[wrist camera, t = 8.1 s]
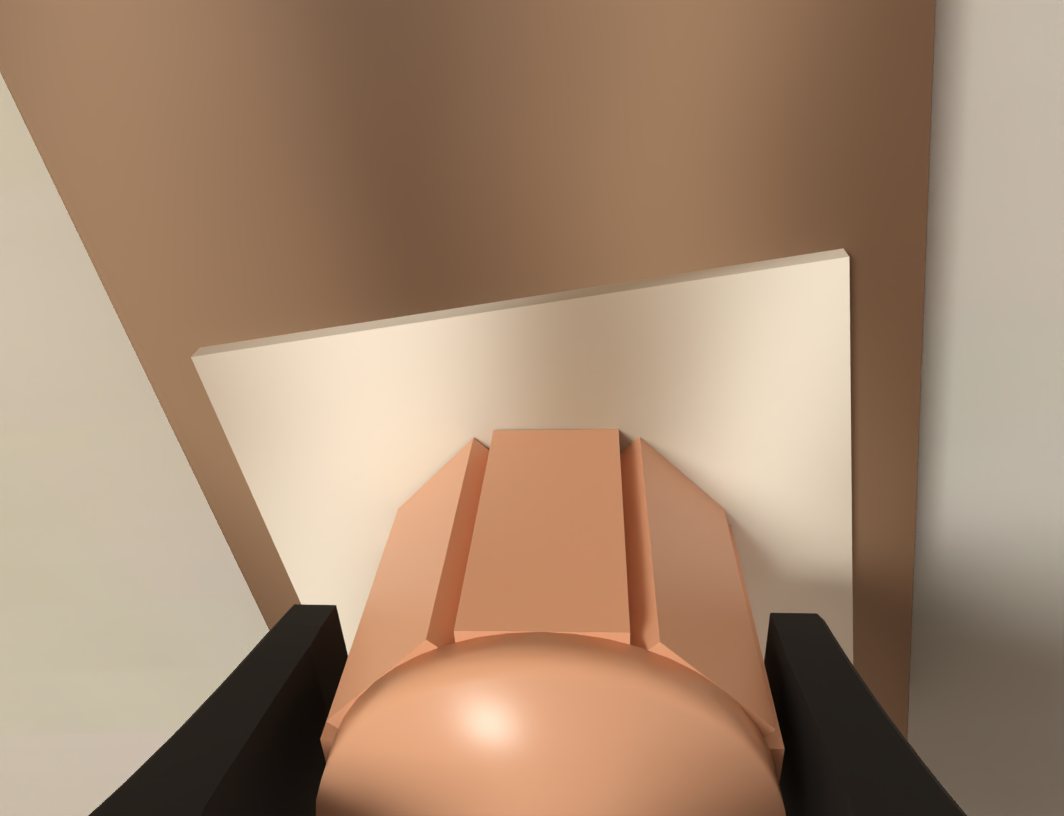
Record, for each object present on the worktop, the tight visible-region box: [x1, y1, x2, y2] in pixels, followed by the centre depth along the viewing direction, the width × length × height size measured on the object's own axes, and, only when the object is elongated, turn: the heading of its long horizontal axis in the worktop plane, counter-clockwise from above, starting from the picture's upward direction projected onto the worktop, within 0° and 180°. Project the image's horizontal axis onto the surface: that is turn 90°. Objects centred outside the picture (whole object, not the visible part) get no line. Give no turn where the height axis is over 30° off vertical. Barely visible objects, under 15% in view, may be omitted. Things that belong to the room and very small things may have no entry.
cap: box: [316, 429, 786, 816], centre depth 11 cm, size 5×5×5 cm
